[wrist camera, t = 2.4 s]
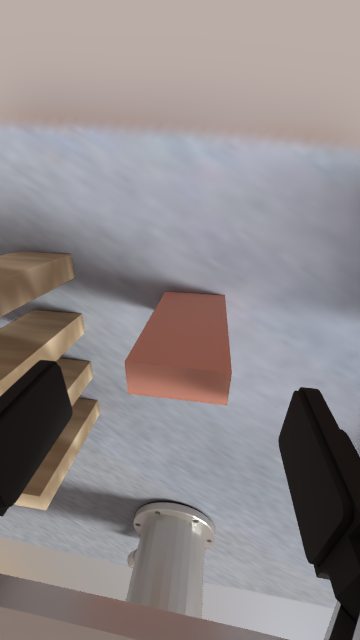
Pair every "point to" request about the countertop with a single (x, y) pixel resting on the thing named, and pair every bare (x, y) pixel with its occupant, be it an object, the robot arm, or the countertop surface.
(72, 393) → the domino
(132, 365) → the domino
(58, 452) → the domino
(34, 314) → the domino
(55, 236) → the countertop surface
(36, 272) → the domino
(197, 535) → the robot arm
